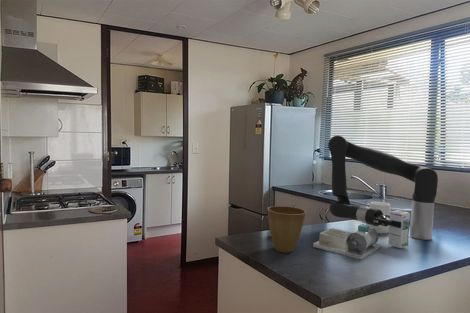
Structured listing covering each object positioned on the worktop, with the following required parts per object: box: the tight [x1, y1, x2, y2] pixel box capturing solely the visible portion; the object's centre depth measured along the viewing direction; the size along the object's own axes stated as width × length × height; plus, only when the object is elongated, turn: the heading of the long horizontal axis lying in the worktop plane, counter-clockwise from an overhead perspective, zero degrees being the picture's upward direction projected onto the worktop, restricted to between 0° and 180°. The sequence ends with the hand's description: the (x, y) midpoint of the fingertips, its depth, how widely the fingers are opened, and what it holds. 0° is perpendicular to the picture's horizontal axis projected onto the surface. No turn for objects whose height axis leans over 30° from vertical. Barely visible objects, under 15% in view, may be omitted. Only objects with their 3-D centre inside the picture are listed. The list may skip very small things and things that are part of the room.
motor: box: [312, 223, 381, 260], centre depth 143 cm, size 20×20×10 cm
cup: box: [365, 201, 392, 234], centre depth 172 cm, size 13×13×14 cm
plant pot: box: [267, 205, 307, 254], centre depth 137 cm, size 15×15×16 cm
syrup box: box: [388, 209, 411, 249], centre depth 146 cm, size 6×6×14 cm
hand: (405, 224), depth 144 cm, fingers closed on syrup box, 5 cm apart
